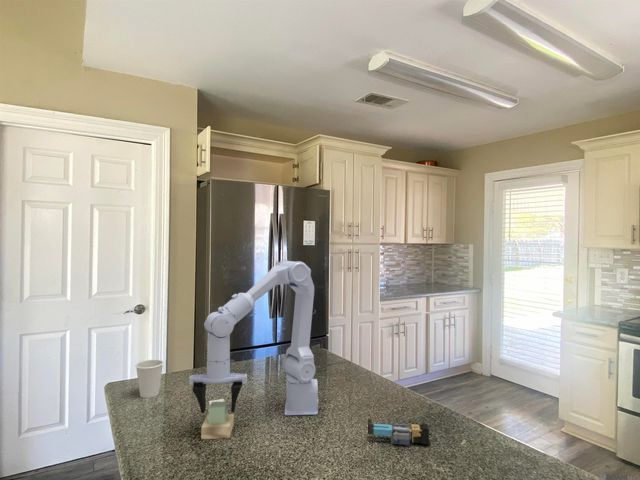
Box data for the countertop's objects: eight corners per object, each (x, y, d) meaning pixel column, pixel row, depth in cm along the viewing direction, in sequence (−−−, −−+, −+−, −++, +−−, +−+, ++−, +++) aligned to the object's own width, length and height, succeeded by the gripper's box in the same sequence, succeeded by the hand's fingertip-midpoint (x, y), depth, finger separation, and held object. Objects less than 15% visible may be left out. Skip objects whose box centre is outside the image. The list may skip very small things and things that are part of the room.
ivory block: (223, 412, 112) (223, 398, 112) (225, 418, 108) (225, 404, 108) (209, 415, 110) (209, 401, 110) (211, 421, 106) (211, 406, 106)
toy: (368, 416, 100) (427, 420, 98) (368, 433, 100) (427, 438, 98) (367, 426, 94) (430, 431, 92) (367, 445, 94) (430, 450, 92)
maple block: (233, 425, 104) (233, 413, 104) (229, 438, 97) (229, 426, 97) (207, 425, 103) (207, 414, 103) (201, 439, 96) (201, 427, 96)
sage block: (227, 416, 102) (227, 401, 102) (224, 423, 98) (224, 408, 98) (212, 416, 102) (212, 401, 102) (208, 424, 98) (208, 408, 98)
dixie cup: (164, 388, 130) (164, 358, 130) (162, 397, 122) (162, 366, 122) (137, 390, 127) (137, 360, 127) (133, 401, 119) (133, 368, 119)
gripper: (248, 353, 105) (248, 403, 105) (194, 354, 104) (193, 405, 104) (245, 362, 98) (244, 415, 98) (186, 363, 97) (186, 417, 97)
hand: (218, 411), depth 100 cm, fingers open, 7 cm apart
